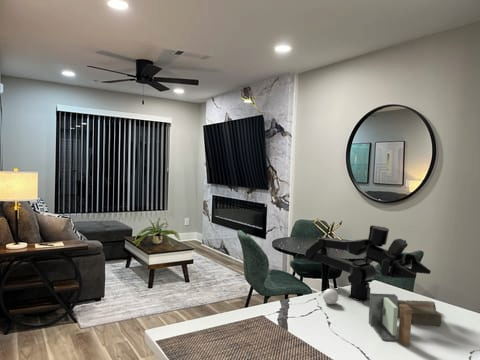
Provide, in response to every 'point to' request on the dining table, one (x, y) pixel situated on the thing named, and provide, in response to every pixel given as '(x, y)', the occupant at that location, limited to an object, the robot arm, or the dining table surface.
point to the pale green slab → (390, 316)
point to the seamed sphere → (330, 296)
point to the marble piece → (422, 312)
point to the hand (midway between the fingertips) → (423, 274)
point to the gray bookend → (380, 314)
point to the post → (405, 324)
